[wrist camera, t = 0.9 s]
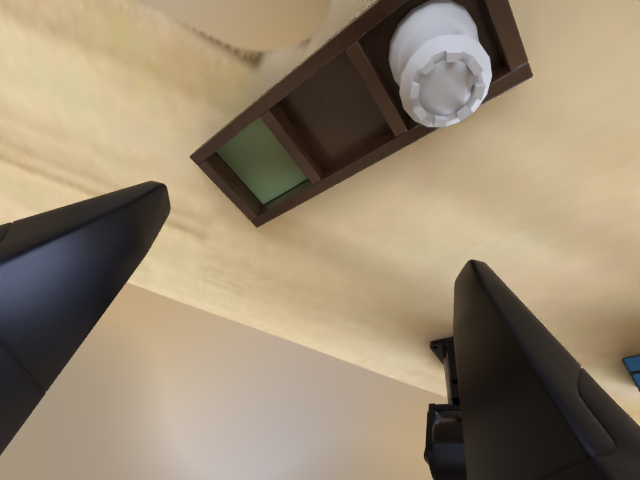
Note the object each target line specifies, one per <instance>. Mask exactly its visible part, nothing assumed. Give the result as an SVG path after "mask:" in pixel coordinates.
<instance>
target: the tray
mask: <svg viewBox="0 0 640 480" xmlns="http://www.w3.org/2000/svg"><path fill="white" fill-rule="evenodd" d="M427 1H429V0H377V1H375V2H374V3H373V4H372V5H370V6H369V7H368V8H367V9H366V10H364V11H363V12H362V13H361V14H360V15H358V16H357V17H356V18H355V19H354V20H352V21H351V22H350V23H349V24H348V25H346V26H345V27H344V28H343V29H342V30H340V31H339V32H338V33H337V34H336V35H334V36H333V37H332V38H331V39H329V40H328V41H327V42H326V43H325V44H323V45H322V46H321V47H320V48H319V49H317V50H316V51H315V52H314V53H313V54H311V55H310V56H309V57H308V58H307V59H305V60H304V61H303V62H302V63H301V64H299V65H298V66H297V67H296V68H294V69H293V70H292V71H291V72H290V73H288V74H287V75H286V76H285V77H284V78H282V79H281V80H280V81H279V82H278V83H276V84H275V85H274V86H273V87H272V88H270V89H269V90H268V91H267V92H266V93H264V94H263V95H262V96H261V97H260V98H258V99H257V100H256V101H255V102H253V103H252V104H251V105H250V106H249V107H247V108H246V109H245V110H244V111H243V112H241V113H240V114H239V115H238V116H237V117H235V118H234V119H233V120H232V121H231V122H229V123H228V124H227V125H226V126H225V127H223V128H222V129H221V130H220V131H219V132H217V133H216V134H215V135H214V136H212V137H211V138H210V139H209V140H208V141H206V142H205V143H204V144H203V145H202V146H201V147H199V148H198V149H197V150H196V151H195V152H194V153H193V154H192V155H191V156H190V158H191V159H192V160H193V161H194V162H195V163H196V164H197V165H198V166H199V167H200V168H201V169H202V171H203V172H204V173H205V174H206V175H207V176H208V177H209V178H210V179H211V180H212V181H213V182H214V183H215V184H216V185H217V186H218V187H219V188H220V189H221V191H222V192H223V193H224V194H225V195H226V196H227V197H228V198H229V199H230V200H231V201H232V202H233V203H234V204H235V205H236V206H237V207H238V208H239V209H240V210H241V212H242V213H243V214H244V215H245V216H246V217H247V218H248V219H249V220H251V222H252V223H253V224H254V225H255V226H256V227H259V226H261V225H263V224H265V223H266V222H268V221H270V220H272V219H274V218H276V217H277V216H279V215H281V214H283V213H285V212H287V211H288V210H290V209H292V208H294V207H296V206H298V205H299V204H301V203H303V202H305V201H307V200H309V199H310V198H312V197H314V196H316V195H318V194H320V193H321V192H323V191H325V190H327V189H329V188H331V187H332V186H334V185H336V184H338V183H340V182H342V181H343V180H345V179H347V178H349V177H351V176H352V175H354V174H356V173H358V172H360V171H362V170H363V169H365V168H367V167H369V166H371V165H373V164H374V163H376V162H378V161H380V160H382V159H384V158H385V157H387V156H389V155H391V154H393V153H395V152H396V151H398V150H400V149H402V148H404V147H406V146H407V145H409V144H411V143H413V142H415V141H417V140H418V139H420V138H422V137H424V136H426V135H428V134H429V133H431V132H433V131H435V130H437V129H439V128H440V127H427V126H425V125H423V124H420V123H418V122H416V121H414V120H413V119H412V118H411V117H410V115H409V114H408V113H407V112H406V111H405V110H404V108H403V104H402V101H401V97H400V94H399V92H400V86H399V85H398V84H397V83H396V82H395V80H394V78H393V74H392V71H391V67H390V64H389V49H390V41H391V39H392V37H393V35H394V32H395V30H396V28H397V26H398V24H399V23H400V22H401V20H402V19H403V18H404V17H405V16H406V15H407V14H408V13H409V12H410V11H411V10H412V9H413V8H415V7H417V6H419V5H421V4H423V3H425V2H427ZM451 1H453V2H455V3H457V4H459V5H461V6H463V7H465V8H466V10H467V11H468V13H469V14H470V16H471V17H472V19H473V20H474V22H475V24H476V26H477V32H478V39H479V43H480V44H481V46H482V47H483V49H484V50H485V51H486V53H487V54H488V56H489V57H490V64H491V72H492V78H491V82H490V85H489V89H488V92H487V95H486V97H485V98H484V99H483V101H482V102H481V104H480V105H479V106H481V105H482V104H484V103H486V102H488V101H490V100H492V99H493V98H495V97H497V96H499V95H501V94H503V93H504V92H506V91H508V90H510V89H512V88H514V87H515V86H517V85H519V84H521V83H523V82H525V81H526V80H528V79H530V78H532V77H533V74H532V71H531V68H530V65H529V63H528V59H527V56H526V53H525V50H524V47H523V43H522V40H521V37H520V34H519V31H518V28H517V25H516V22H515V19H514V16H513V13H512V10H511V7H510V4H509V1H508V0H451Z"/></svg>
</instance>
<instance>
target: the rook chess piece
mask: <svg viewBox="0 0 640 480" xmlns="http://www.w3.org/2000/svg"><path fill="white" fill-rule="evenodd" d="M389 64H390V67H391V71H392V74H393V78H394V80H395V82H396V83H397V84H398V85H399V86H400V92H399V94H400V97H401V101H402V104H403V108H404V110H405V111H406V112H407V113H408V114H409V115H410V117H411V118H412V119H413V120H414V121H416V122H418V123H420V124H423V125H425V126H427V127H447V126H450V125H453V124H456V123H459V122H462V121H463V120H464V119H466V118H467V117H468V116H470V115H471V114H472V113H473V112H474V111H476V109H477V108H478V107H479V105H480V104H481V102H482V101H483V99H484V98H485V97H486V95H487V92H488V89H489V85H490V82H491V78H492V72H491V64H490V57H489V56H488V54H487V53H486V51H485V50H484V49H483V47H482V46H481V44H480V43H479V39H478V32H477V26H476V24H475V22H474V20H473V19H472V17H471V16H470V14H469V13H468V11H467V10H466V8H465V7H463V6H461V5H459V4H457V3H455V2H453V1H451V0H429V1H427V2H425V3H423V4H421V5H419V6H417V7H415V8H413V9H412V10H411V11H410V12H409V13H408V14H407V15H406V16H405V17H404V18H403V19H402V20H401V22H400V23H399V24H398V26H397V28H396V30H395V32H394V35H393V37H392V39H391V41H390V49H389Z"/></svg>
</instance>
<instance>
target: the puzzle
mask: <svg viewBox="0 0 640 480" xmlns="http://www.w3.org/2000/svg"><path fill="white" fill-rule="evenodd" d="M622 361H624V362H623V363H625V364H624V365H625V366H626V368H627V370H629V371H628V372H629V374H630V375H631V377H632V379H633V381H634V382H635V384H636V386H637V388H638V390H639V391H640V356H635V357H629V358H624V359H622Z"/></svg>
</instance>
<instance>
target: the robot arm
mask: <svg viewBox="0 0 640 480" xmlns="http://www.w3.org/2000/svg"><path fill="white" fill-rule="evenodd" d="M169 213H170V201H169V196H168V190H167V187H166V185H164V184H163V183H159V182H155V181H148V182H145V183H141V184H138V185H135V186H131V187H128V188H125V189H121V190H118V191H115V192H111V193H108V194H104V195H101V196H98V197H94V198H91V199H88V200H84V201H81V202H78V203H74V204H71V205H67V206H64V207H61V208H57V209H54V210H51V211H47V212H44V213H41V214H37V215H34V216H30V217H27V218H24V219H20V220H17V221H14V222H13V223H7V224H3V225H0V455H1V454H2V453H3V451H4V450H5V448H6V447H7V446H8V444H9V443H10V442H11V440H12V439H13V437H14V436H15V435H16V433H17V432H18V431H19V429H20V428H21V426H22V425H23V424H24V422H25V421H26V420H27V418H28V417H29V416H30V414H31V413H32V411H33V410H34V409H35V407H36V406H37V404H38V403H39V402H40V400H41V399H42V398H43V396H44V395H45V393H46V392H45V391H47V390H48V389H49V388H50V386H51V385H52V384H53V382H54V381H55V379H56V378H57V376H58V375H59V374H60V373H61V371H62V370H63V368H64V367H65V366H66V364H67V363H68V362H69V360H70V359H71V357H72V356H73V355H74V353H75V352H76V351H77V349H78V348H79V346H80V345H81V344H82V342H83V341H84V339H85V338H86V337H87V335H88V334H89V333H90V331H91V330H92V329H93V327H94V326H95V324H96V323H97V322H98V320H99V319H100V318H101V316H102V315H103V314H104V312H105V311H106V309H107V308H108V307H109V305H110V304H111V302H112V301H113V300H114V298H115V297H116V296H117V294H118V293H119V292H120V290H121V289H122V287H123V286H124V284H125V283H126V282H127V281H128V279H129V278H130V276H131V275H132V274H133V272H134V271H135V270H136V268H137V267H138V265H139V264H140V263H141V261H142V260H143V258H144V257H145V256H146V254H147V252H148V251H149V249H150V248H151V246H152V244H153V242H154V240H155V239H156V237H157V235H158V233H159V231H160V230H161V228H162V226H163V224H164V223H165V221H166V219H167V217H168V215H169ZM453 335H454V337H451V338H447V339H442V340H437V341H433V342H431V343H430V348H431V350H432V351H433V352H434V353H435V355H436V356H437V357H438V358H439V360H440V361H441V362H442V363H443V364H444V370H445V379H446V388H447V397H448V404H435V403H433V404H429V411H428V412H427V429H426V447H425V451H424V459H425V461H426V462H427V464H428V465H429V466H430V471H431V474H432V477H433V480H640V426H639V425H638V424H637V423H636V422H635V421H634V420H633V419H632V418H631V417H630V416H629V415H628V414H627V413H626V412H625V411H624V410H623V409H622V408H621V407H620V406H619V405H618V404H617V403H616V402H615V401H614V400H613V399H612V398H611V397H610V396H609V395H608V394H607V393H606V392H605V391H604V390H603V389H602V388H601V387H600V386H599V385H598V383H597V382H596V381H595V380H594V379H593V378H592V377H591V376H590V375H589V374H588V373H587V372H586V370H585V369H583V368H581V365H580V364H579V363H578V362H577V361H576V360H575V359H574V358H573V357H572V356H571V354H570V353H569V352H568V351H567V350H566V349H565V348H564V347H563V346H562V345H561V344H560V343H559V342H558V340H557V339H556V338H555V337H554V336H553V335H552V334H551V333H550V332H549V331H548V330H547V329H546V328H545V326H544V325H543V324H542V323H541V322H540V321H539V320H538V319H537V318H536V317H535V316H534V315H533V314H532V312H531V311H530V310H529V309H528V308H527V307H526V306H525V305H524V304H523V303H522V302H521V301H520V300H519V298H518V297H517V296H516V295H515V294H514V293H513V292H512V291H511V290H510V289H509V288H508V287H507V286H506V284H505V283H504V282H503V281H502V280H501V279H500V278H499V277H498V276H497V275H496V274H495V273H494V272H493V270H492V269H491V268H490V267H489V266H488V265H487V264H486V263H484V262H481V261H477V260H473V259H472V260H469V261H468V262H467V263H466V264H465V266H464V267H463V269H462V270H461V272H460V274H459V275H458V277H457V278H456V281H455V285H454V318H453Z"/></svg>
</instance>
